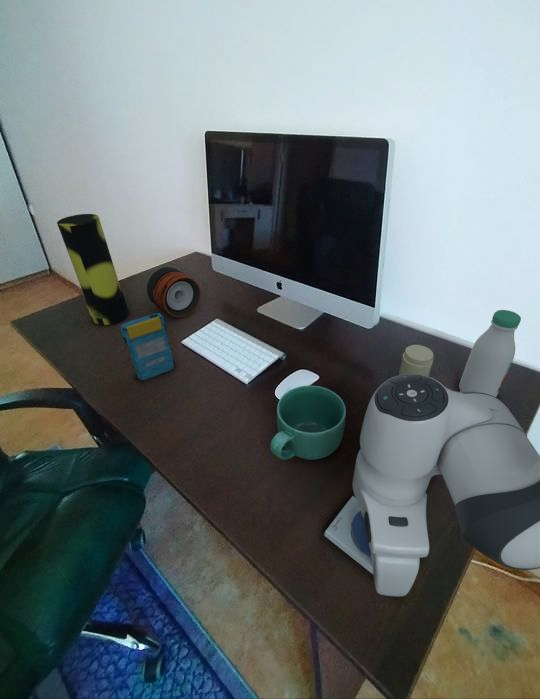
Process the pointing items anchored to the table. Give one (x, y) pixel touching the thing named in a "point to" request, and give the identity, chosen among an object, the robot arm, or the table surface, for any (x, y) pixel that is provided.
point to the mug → (308, 423)
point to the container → (94, 267)
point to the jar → (416, 360)
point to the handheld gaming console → (148, 345)
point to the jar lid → (360, 534)
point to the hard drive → (347, 534)
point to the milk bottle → (491, 355)
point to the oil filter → (173, 291)
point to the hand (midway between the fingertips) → (373, 535)
